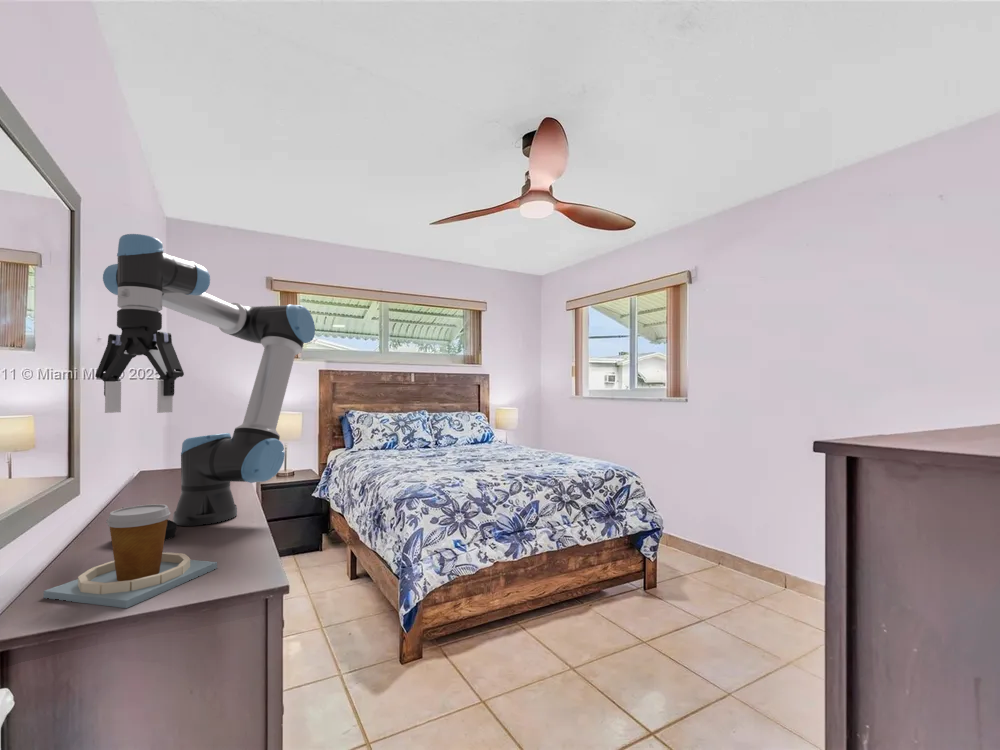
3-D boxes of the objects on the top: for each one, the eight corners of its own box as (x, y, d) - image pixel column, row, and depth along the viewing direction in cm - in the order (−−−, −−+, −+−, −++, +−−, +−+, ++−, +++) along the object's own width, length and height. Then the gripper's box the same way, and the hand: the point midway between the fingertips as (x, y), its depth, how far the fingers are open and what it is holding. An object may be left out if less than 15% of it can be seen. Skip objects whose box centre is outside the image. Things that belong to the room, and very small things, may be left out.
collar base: (144, 561, 99) (144, 548, 99) (217, 568, 95) (217, 554, 95) (43, 598, 82) (43, 582, 82) (126, 608, 78) (126, 591, 78)
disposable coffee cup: (181, 569, 91) (182, 505, 92) (126, 589, 82) (127, 518, 83) (148, 563, 95) (149, 502, 95) (92, 581, 86) (94, 513, 86)
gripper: (74, 310, 100) (72, 413, 99) (172, 304, 94) (170, 413, 93) (111, 316, 107) (110, 411, 106) (204, 310, 101) (203, 411, 100)
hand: (138, 412), depth 100 cm, fingers open, 13 cm apart
